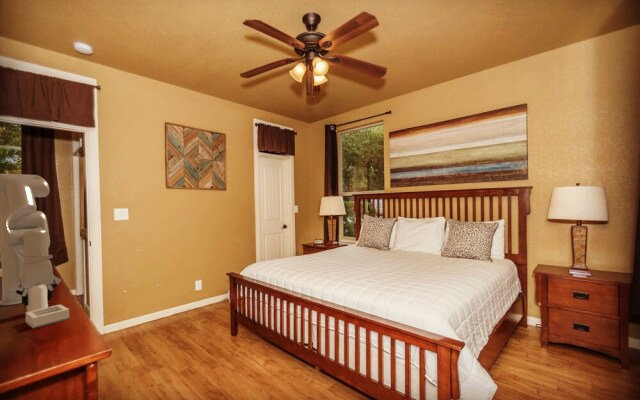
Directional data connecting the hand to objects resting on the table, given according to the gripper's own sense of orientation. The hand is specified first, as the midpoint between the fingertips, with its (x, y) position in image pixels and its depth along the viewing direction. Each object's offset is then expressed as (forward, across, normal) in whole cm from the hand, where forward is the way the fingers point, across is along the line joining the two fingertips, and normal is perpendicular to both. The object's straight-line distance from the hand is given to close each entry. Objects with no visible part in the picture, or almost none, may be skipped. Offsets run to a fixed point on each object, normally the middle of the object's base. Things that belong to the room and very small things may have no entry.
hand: (37, 302), depth 126 cm
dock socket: (+4, 0, +16) cm, 16 cm away
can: (+4, 0, 0) cm, 4 cm away
